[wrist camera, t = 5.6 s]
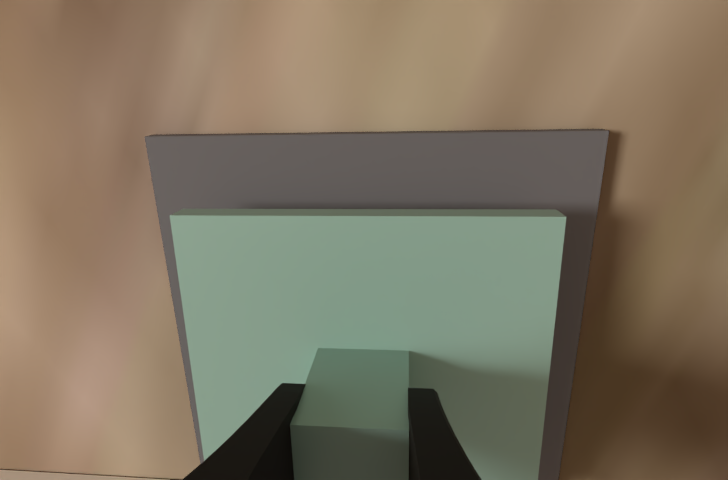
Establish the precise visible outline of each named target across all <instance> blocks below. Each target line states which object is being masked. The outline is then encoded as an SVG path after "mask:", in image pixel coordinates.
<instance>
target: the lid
mask: <svg viewBox="0 0 728 480" xmlns="http://www.w3.org/2000/svg"><path fill="white" fill-rule="evenodd" d="M170 222H171V229H172V236H173V243H174V250H175V257H176V264H177V272H178V279H179V286H180V293H181V300H182V307H183V314H184V321H185V328H186V335H187V343H188V350H189V357H190V364H191V371H192V378H193V385H194V392H195V399H196V406H197V413H198V421H199V428H200V435H201V442H202V449H203V456H204V461H205V460H206V459H207V458H208V457H209V456H210V455H211V454H212V453H213V452H214V451H216V450H217V449H218V448H219V447H220V446H221V445H222V444H223V443H224V442H225V441H226V440H227V439H228V438H229V437H230V436H231V435H232V434H233V433H234V432H235V431H236V430H237V429H238V428H239V427H240V426H241V425H242V424H243V423H244V422H245V421H246V420H247V419H248V418H249V417H250V416H251V415H252V414H253V413H254V412H255V411H256V410H257V409H258V408H259V406H260V405H261V404H262V403H263V402H264V401H265V400H266V399H267V398H268V397H269V396H270V395H271V394H272V392H273V391H274V390H275V389H276V388H277V387H278V386H279V385H280V384H281V383H295V384H306V385H305V388H304V391H303V394H302V396H301V399H300V402H299V405H298V407H297V410H296V412H295V414H294V416H293V418H292V421H291V423H290V431H291V445H292V458H293V471H294V480H409V419H408V388H429V389H434V390H435V391H436V392H437V393H438V396H439V399H440V402H441V405H442V407H443V410H444V412H445V414H446V417H447V419H448V421H449V423H450V425H451V427H452V429H453V431H454V433H455V435H456V437H457V439H458V441H459V443H460V444H461V446H462V448H463V450H464V452H465V453H466V455H467V457H468V459H469V460H470V462H471V464H472V465H473V467H474V469H475V470H476V472H477V473H478V475H479V476H480V478H481V479H482V480H538V474H539V465H540V456H541V446H542V437H543V428H544V419H545V410H546V400H547V391H548V382H549V373H550V364H551V354H552V345H553V336H554V327H555V317H556V308H557V299H558V290H559V281H560V271H561V262H562V253H563V244H564V235H565V225H566V216H565V215H563V214H562V213H560V212H559V211H558V210H556V209H182V210H180V211H178V212H176V213H174V214H172V215H170Z"/></svg>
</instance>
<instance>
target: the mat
mask: <svg viewBox="0 0 728 480" xmlns="http://www.w3.org/2000/svg"><path fill="white" fill-rule="evenodd" d="M608 135H609V131H608V130H604V129H556V130H479V131H402V132H326V133H249V134H172V135H150V136H145V142H146V147H147V153H148V159H149V165H150V171H151V177H152V182H153V188H154V194H155V200H156V206H157V212H158V217H159V223H160V229H161V235H162V241H163V247H164V252H165V258H166V264H167V270H168V276H169V282H170V287H171V293H172V299H173V305H174V311H175V317H176V322H177V328H178V334H179V340H180V346H181V352H182V357H183V363H184V369H185V375H186V381H187V387H188V393H189V398H190V404H191V410H192V416H193V422H194V428H195V433H196V439H197V445H198V451H199V457H200V463H202V462H203V461H204V456H203V449H202V442H201V435H200V428H199V421H198V413H197V406H196V399H195V392H194V385H193V378H192V371H191V364H190V357H189V350H188V343H187V335H186V328H185V321H184V314H183V307H182V300H181V293H180V286H179V279H178V272H177V264H176V257H175V250H174V243H173V236H172V229H171V222H170V215H172V214H174V213H176V212H178V211H180V210H182V209H556V210H558V211H559V212H560V213H562V214H563V215H565V216H566V225H565V235H564V244H563V253H562V262H561V271H560V281H559V290H558V299H557V308H556V317H555V327H554V336H553V345H552V354H551V364H550V373H549V382H548V391H547V400H546V410H545V419H544V428H543V437H542V446H541V456H540V465H539V474H538V480H558V479H559V472H560V465H561V458H562V452H563V445H564V438H565V431H566V424H567V417H568V410H569V403H570V397H571V390H572V383H573V376H574V369H575V362H576V355H577V348H578V342H579V335H580V328H581V321H582V314H583V307H584V300H585V293H586V287H587V280H588V273H589V266H590V259H591V252H592V245H593V238H594V232H595V225H596V218H597V211H598V204H599V197H600V190H601V183H602V177H603V170H604V163H605V156H606V149H607V142H608Z"/></svg>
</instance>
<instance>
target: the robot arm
mask: <svg viewBox="0 0 728 480" xmlns="http://www.w3.org/2000/svg"><path fill="white" fill-rule="evenodd" d="M305 385H306V384H295V383H281V384H280V385H279V386H278V387H277V388H276V389H275V390H274V391H273V392H272V394H271V395H270V396H269V397H268V398H267V399H266V400H265V401H264V402H263V403H262V404H261V405H260V406H259V408H258V409H257V410H256V411H255V412H254V413H253V414H252V415H251V416H250V417H249V418H248V419H247V420H246V421H245V422H244V423H243V424H242V425H241V426H240V427H239V428H238V429H237V430H236V431H235V432H234V433H233V434H232V435H231V436H230V437H229V438H228V439H227V440H226V441H225V442H224V443H223V444H222V445H221V446H220V447H219V448H218V449H217V450H216V451H214V452H213V453H212V454H211V455H210V456H209V457H208V458H207V459H206V460H205V461H203V462H202V463H201V464H200V465H199V466H198V467H197V468H196V469H195V470H193V471H192V472H191V473H190V474H189V475H187V476H186V477H185V478H184V479H183V480H294V471H293V458H292V445H291V431H290V423H291V421H292V418H293V416H294V414H295V412H296V410H297V407H298V405H299V402H300V399H301V396H302V394H303V391H304V388H305ZM408 419H409V480H482V479H481V478H480V476H479V475H478V473H477V472H476V470H475V469H474V467H473V465H472V464H471V462H470V460H469V459H468V457H467V455H466V453H465V452H464V450H463V448H462V446H461V444H460V443H459V441H458V439H457V437H456V435H455V433H454V431H453V429H452V427H451V425H450V423H449V421H448V419H447V417H446V414H445V412H444V410H443V407H442V405H441V402H440V399H439V396H438V393H437V392H436V391H435V390H434V389H429V388H408Z"/></svg>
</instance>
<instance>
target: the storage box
mask: <svg viewBox="0 0 728 480" xmlns="http://www.w3.org/2000/svg"><path fill="white" fill-rule="evenodd" d="M0 480H168V479H151V478H134V477H117V476H100V475H83V474H66V473H49V472H32V471H15V470H0Z"/></svg>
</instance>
